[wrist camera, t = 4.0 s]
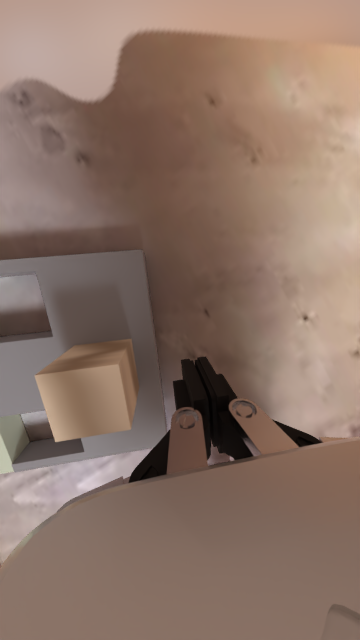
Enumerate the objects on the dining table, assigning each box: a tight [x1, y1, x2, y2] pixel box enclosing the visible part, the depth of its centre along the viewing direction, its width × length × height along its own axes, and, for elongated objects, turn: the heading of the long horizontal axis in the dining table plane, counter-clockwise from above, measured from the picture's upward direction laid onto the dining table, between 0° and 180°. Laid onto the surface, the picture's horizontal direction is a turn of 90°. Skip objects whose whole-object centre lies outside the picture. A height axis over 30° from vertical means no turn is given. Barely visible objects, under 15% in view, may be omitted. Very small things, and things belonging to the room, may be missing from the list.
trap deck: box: [0, 249, 167, 474], centre depth 17 cm, size 23×20×2 cm
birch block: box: [34, 339, 139, 442], centre depth 14 cm, size 5×5×5 cm
